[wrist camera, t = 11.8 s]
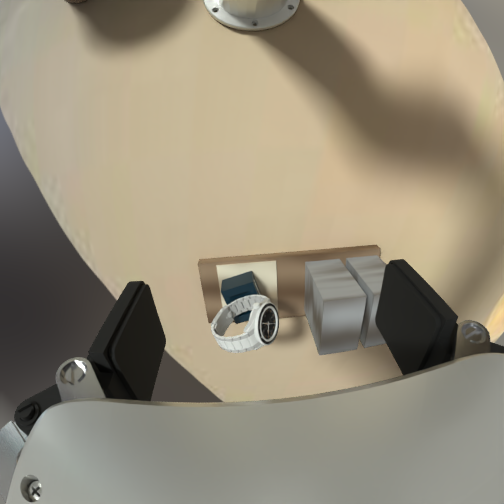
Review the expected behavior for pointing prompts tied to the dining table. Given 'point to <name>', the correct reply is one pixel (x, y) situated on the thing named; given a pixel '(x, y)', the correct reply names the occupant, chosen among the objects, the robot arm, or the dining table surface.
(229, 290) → the watch
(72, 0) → the plant pot
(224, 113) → the dining table surface
